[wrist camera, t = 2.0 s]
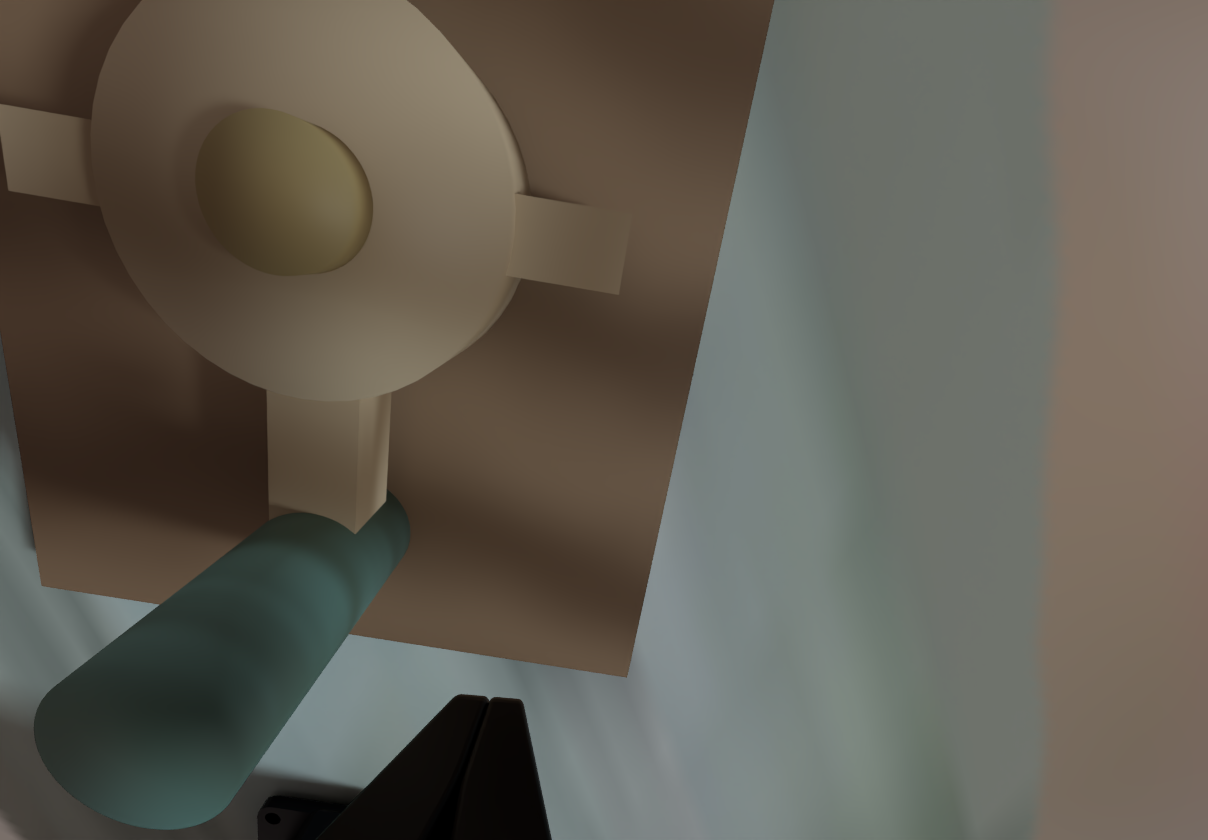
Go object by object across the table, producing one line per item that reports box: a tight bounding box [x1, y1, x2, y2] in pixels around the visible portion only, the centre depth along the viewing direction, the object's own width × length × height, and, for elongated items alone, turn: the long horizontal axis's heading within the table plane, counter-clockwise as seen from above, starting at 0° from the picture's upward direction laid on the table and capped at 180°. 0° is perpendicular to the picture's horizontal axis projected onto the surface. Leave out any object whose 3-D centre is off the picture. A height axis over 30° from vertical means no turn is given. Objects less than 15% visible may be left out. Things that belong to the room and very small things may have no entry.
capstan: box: [0, 0, 632, 830], centre depth 9 cm, size 14×11×6 cm
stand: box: [0, 0, 774, 677], centre depth 11 cm, size 20×16×6 cm
